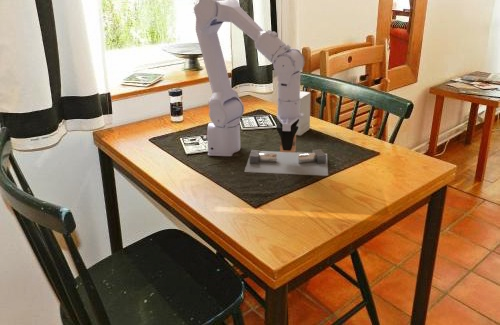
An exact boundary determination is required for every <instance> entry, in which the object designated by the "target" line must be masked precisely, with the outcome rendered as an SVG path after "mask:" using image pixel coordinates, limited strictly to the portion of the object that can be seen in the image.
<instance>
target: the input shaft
mask: <svg viewBox="0 0 500 325" xmlns="http://www.w3.org/2000/svg"><path fill="white" fill-rule="evenodd" d="M260 151H261V150H260V149H251V150H250V153H249V156H250V164H259V162H277V154H274V153H260Z"/></svg>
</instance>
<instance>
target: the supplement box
mask: <svg viewBox="0 0 500 325" xmlns="http://www.w3.org/2000/svg"><path fill="white" fill-rule="evenodd" d="M311 94H312V93H311V92H309V91H303V90H302V91H301V90H300V102H299V113H300V114H304V117H303V118H300V119H299V122H298V123H297V126H298V130H297V132H296V136H302V135H304V133H306V132H307V131H309V130H310V127H311V126H310V125H311V123H310V122H311V96H312V95H311Z"/></svg>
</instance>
